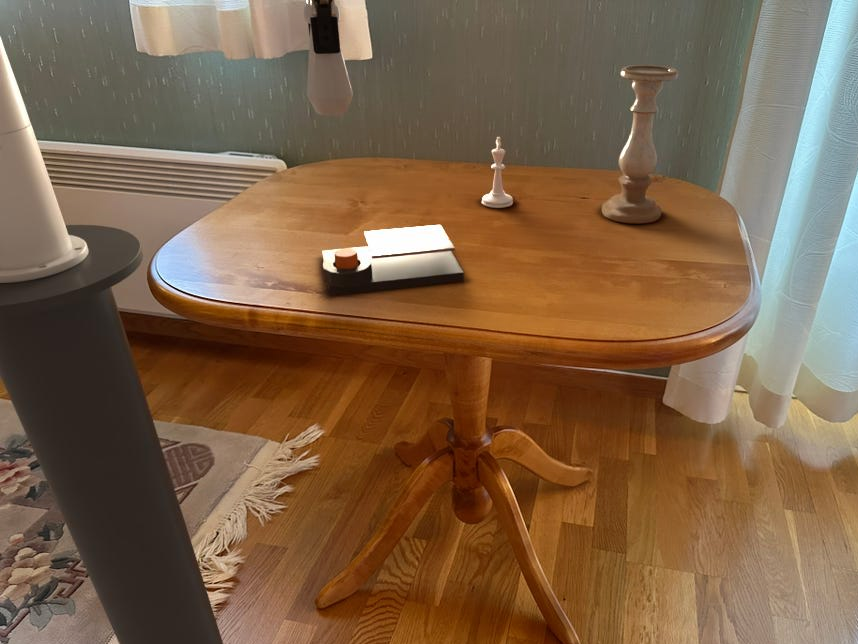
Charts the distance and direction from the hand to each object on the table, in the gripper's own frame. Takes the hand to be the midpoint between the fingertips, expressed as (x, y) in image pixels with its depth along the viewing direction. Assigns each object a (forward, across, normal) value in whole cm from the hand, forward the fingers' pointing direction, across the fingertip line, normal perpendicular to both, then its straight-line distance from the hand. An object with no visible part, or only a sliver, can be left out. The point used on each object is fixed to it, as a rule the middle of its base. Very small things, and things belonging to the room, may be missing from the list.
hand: (325, 48), depth 85 cm
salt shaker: (+8, 0, 0) cm, 8 cm away
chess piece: (+23, -3, +24) cm, 34 cm away
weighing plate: (+20, +17, +6) cm, 27 cm away
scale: (+23, +18, +4) cm, 29 cm away
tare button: (+21, +21, -2) cm, 30 cm away
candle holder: (+23, +8, +42) cm, 49 cm away
